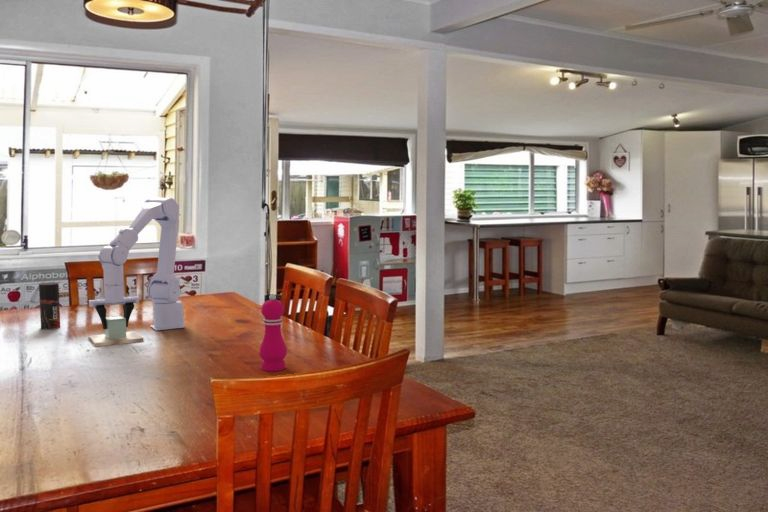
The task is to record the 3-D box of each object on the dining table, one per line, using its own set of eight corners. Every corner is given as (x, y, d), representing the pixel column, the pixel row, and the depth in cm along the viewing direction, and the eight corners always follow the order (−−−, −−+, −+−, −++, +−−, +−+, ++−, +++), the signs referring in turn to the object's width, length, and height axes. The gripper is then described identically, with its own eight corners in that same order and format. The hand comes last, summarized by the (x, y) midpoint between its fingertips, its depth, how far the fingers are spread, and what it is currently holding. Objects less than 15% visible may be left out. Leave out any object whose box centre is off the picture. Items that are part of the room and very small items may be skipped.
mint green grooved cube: (122, 334, 217) (121, 315, 216) (126, 337, 212) (125, 318, 212) (105, 336, 214) (104, 317, 213) (108, 339, 209) (108, 320, 209)
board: (134, 334, 222) (134, 317, 221) (143, 341, 212) (142, 323, 211) (88, 338, 214) (87, 321, 214) (95, 346, 204) (94, 328, 204)
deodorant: (52, 329, 228) (50, 285, 226) (36, 328, 229) (34, 284, 227) (64, 326, 233) (62, 282, 232) (48, 325, 235) (46, 282, 233)
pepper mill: (272, 363, 186) (272, 291, 184) (292, 367, 182) (292, 293, 180) (253, 369, 180) (252, 294, 178) (273, 373, 176) (272, 297, 174)
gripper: (134, 281, 219) (136, 323, 220) (86, 284, 211) (88, 328, 212) (140, 284, 213) (141, 326, 214) (90, 287, 205) (92, 332, 206)
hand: (115, 327), depth 213 cm, fingers open, 6 cm apart
